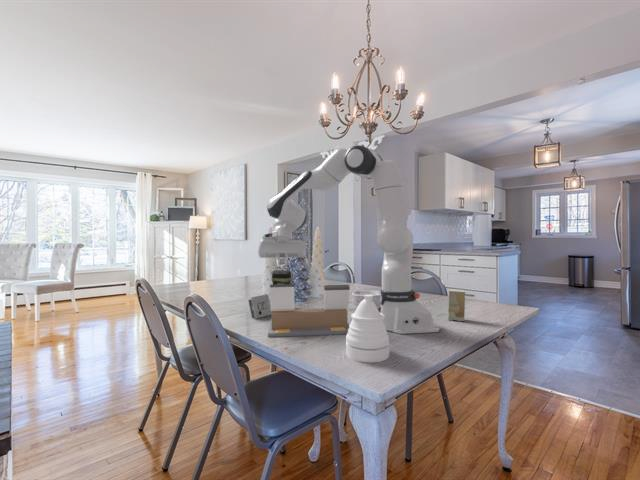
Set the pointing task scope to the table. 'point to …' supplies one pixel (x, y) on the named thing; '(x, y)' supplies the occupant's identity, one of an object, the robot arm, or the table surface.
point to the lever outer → (282, 297)
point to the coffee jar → (281, 277)
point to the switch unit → (308, 322)
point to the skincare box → (456, 305)
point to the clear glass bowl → (359, 296)
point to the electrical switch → (260, 306)
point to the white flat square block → (336, 297)
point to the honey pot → (367, 334)
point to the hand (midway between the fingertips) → (282, 263)
